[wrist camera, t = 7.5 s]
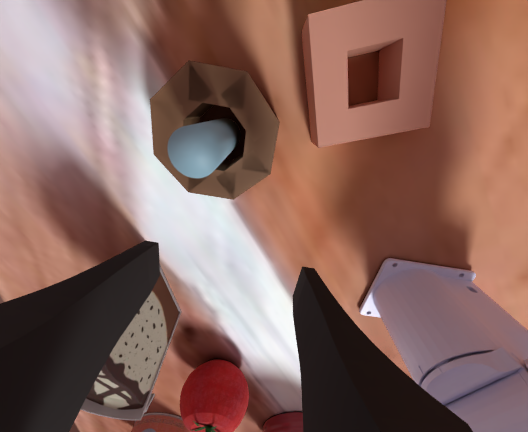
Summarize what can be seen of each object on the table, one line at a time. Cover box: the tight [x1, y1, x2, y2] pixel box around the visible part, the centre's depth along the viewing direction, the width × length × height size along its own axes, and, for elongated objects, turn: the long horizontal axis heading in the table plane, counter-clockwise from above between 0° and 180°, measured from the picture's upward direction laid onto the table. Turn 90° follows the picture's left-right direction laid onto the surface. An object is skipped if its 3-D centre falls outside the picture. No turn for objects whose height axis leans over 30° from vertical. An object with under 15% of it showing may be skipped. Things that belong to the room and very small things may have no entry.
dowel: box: [168, 118, 241, 178], centre depth 14 cm, size 2×2×8 cm
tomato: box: [180, 359, 249, 432], centre depth 28 cm, size 9×9×8 cm
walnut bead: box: [150, 61, 280, 200], centre depth 16 cm, size 8×8×4 cm
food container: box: [80, 266, 181, 420], centre depth 20 cm, size 12×6×10 cm, turn 9°
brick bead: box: [301, 0, 447, 148], centre depth 14 cm, size 7×7×3 cm
